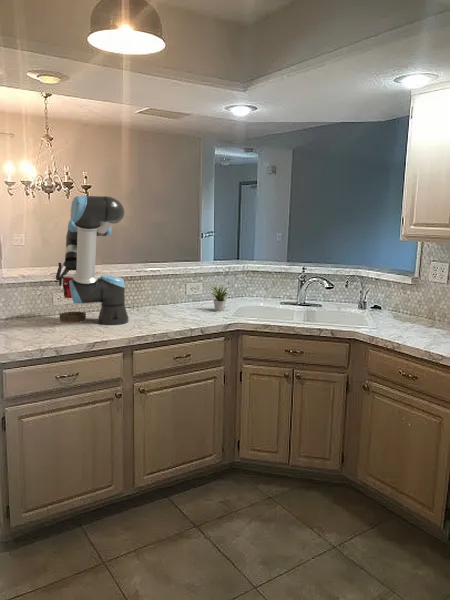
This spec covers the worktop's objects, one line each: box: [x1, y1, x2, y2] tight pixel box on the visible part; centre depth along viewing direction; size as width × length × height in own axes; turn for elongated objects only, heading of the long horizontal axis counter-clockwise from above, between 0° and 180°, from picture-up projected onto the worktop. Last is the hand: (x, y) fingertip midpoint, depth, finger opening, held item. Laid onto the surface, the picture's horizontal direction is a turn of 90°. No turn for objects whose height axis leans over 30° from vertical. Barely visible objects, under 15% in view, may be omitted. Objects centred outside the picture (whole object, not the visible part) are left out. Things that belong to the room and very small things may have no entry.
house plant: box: [209, 284, 230, 312], centre depth 287 cm, size 14×14×16 cm
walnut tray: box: [59, 311, 87, 324], centre depth 259 cm, size 13×13×3 cm
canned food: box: [63, 274, 75, 299], centre depth 256 cm, size 8×8×11 cm
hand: (71, 290), depth 253 cm, fingers closed on canned food, 8 cm apart
